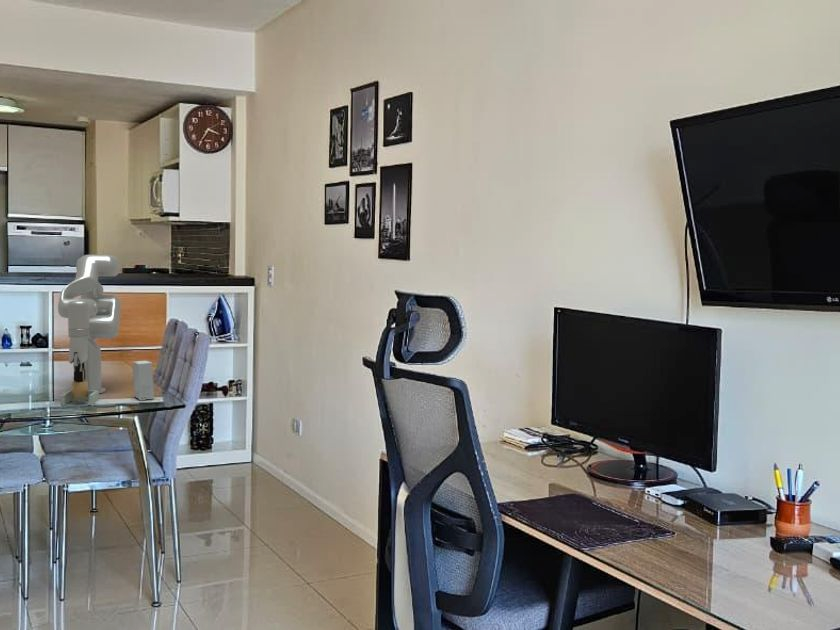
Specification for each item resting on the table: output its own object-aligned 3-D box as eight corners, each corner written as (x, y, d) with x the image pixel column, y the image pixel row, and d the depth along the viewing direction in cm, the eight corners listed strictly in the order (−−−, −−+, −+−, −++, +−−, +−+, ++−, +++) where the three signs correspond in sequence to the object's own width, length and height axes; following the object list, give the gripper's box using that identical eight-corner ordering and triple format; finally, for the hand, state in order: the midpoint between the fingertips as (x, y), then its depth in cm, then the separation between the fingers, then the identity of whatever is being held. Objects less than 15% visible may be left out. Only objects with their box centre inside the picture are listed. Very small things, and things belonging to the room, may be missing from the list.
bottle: (74, 395, 345) (73, 367, 344) (89, 395, 346) (89, 367, 345) (70, 398, 340) (70, 369, 339) (85, 398, 341) (85, 369, 340)
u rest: (68, 400, 348) (68, 390, 348) (98, 400, 350) (98, 390, 349) (61, 405, 338) (61, 395, 338) (92, 405, 339) (92, 395, 339)
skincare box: (154, 399, 353) (153, 362, 352) (138, 401, 350) (138, 363, 348) (147, 396, 360) (147, 359, 359) (132, 397, 357) (132, 360, 355)
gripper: (74, 330, 348) (75, 377, 350) (62, 335, 332) (63, 384, 334) (94, 330, 349) (94, 377, 351) (83, 335, 333) (84, 384, 335)
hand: (79, 380), depth 342 cm, fingers closed on bottle, 3 cm apart
